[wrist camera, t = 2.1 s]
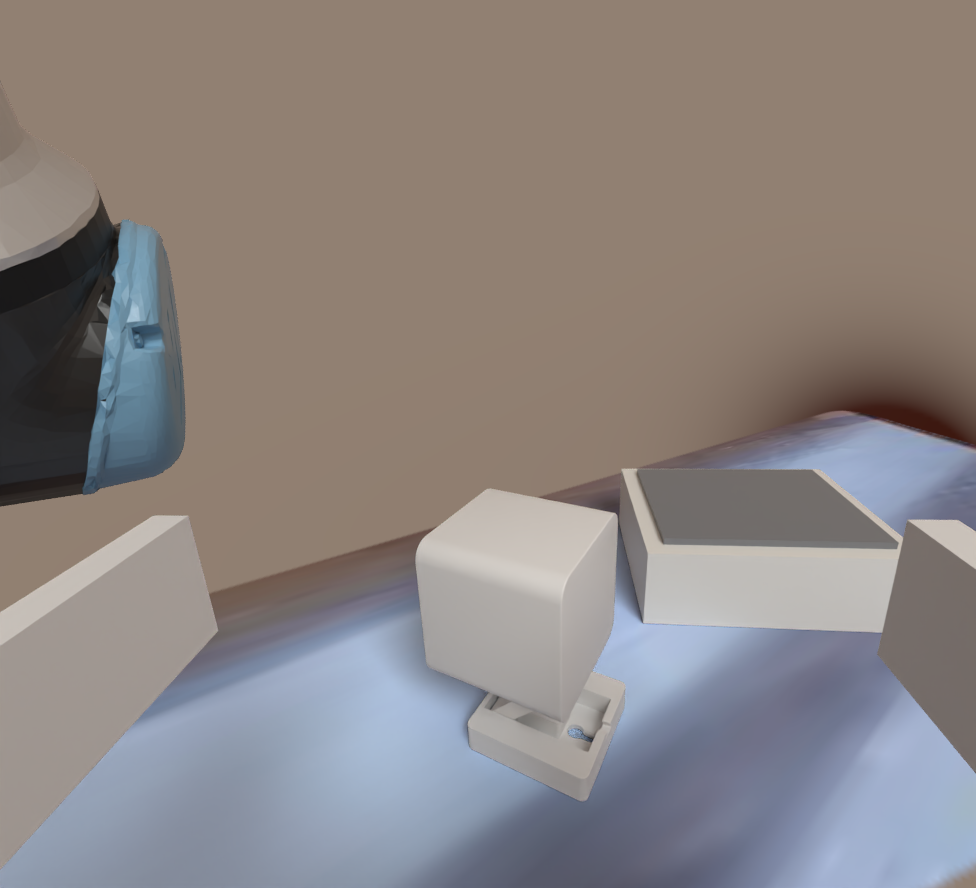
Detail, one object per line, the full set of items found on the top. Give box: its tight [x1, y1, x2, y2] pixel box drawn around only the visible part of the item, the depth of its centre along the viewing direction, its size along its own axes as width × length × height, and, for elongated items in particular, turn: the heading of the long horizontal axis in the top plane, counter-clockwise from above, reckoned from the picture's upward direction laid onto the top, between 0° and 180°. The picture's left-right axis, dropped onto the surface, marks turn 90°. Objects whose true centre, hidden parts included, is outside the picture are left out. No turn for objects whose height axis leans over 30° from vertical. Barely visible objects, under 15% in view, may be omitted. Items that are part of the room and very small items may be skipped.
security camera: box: [415, 488, 625, 801], centre depth 23 cm, size 6×7×10 cm
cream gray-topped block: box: [619, 469, 903, 633], centre depth 34 cm, size 14×12×5 cm
